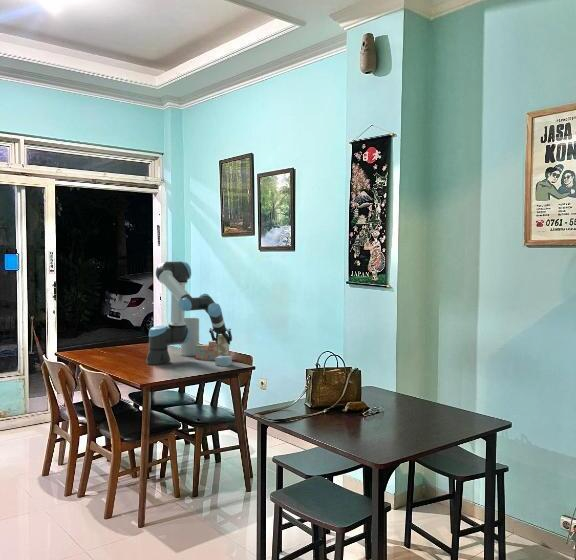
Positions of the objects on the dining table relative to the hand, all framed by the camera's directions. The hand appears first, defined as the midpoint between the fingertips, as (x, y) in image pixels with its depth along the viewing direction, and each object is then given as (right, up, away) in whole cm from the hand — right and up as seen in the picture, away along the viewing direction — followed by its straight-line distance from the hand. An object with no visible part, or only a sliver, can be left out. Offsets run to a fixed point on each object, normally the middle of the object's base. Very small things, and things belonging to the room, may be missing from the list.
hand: (224, 346), depth 367 cm
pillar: (0, -4, -4) cm, 5 cm away
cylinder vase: (-28, -10, +33) cm, 44 cm away
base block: (0, -11, -3) cm, 12 cm away
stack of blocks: (-10, -11, +17) cm, 22 cm away
